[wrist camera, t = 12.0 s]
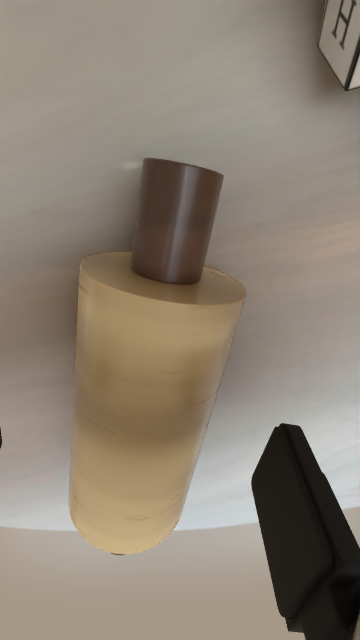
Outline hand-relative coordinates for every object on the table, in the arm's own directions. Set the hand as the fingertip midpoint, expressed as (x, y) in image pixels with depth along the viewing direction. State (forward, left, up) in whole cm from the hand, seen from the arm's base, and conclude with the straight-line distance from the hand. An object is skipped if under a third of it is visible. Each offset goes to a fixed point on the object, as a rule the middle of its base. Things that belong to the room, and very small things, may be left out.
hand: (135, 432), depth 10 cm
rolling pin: (+1, +1, -6) cm, 6 cm away
